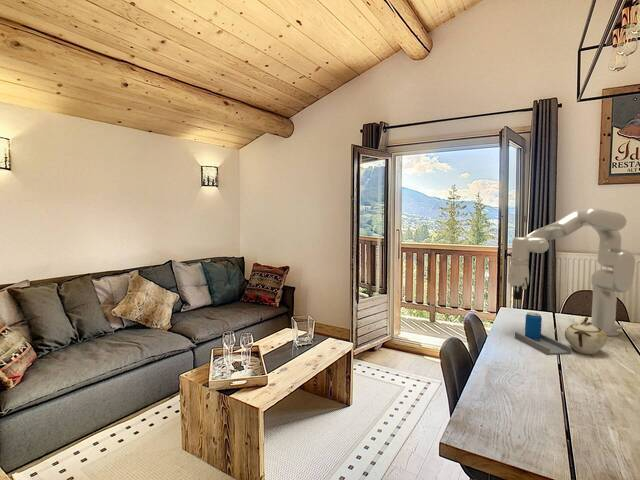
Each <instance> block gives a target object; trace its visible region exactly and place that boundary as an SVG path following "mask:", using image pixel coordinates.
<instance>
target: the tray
mask: <svg viewBox="0 0 640 480" xmlns="http://www.w3.org/2000/svg"><path fill="white" fill-rule="evenodd" d="M514 339H515V340H516V339H517V340H518V341H520V342H522V343H523V344H526V345H527V346H529V347H532V348H533V349H534V350H537V351H539V352H541V353H543V354H544V355H546V356H555V355H557V356H558V355H572V351H573V348H572V346H570V345H568V344H564V343H562V342H561V341H558V340H556V339H554V338H551V337H549V336H547V335H545V334H543V333H541V339H540V340H538V341H534V340H532V339H530V338H528V337H526V336H525V334H524V335H523V334H521V333H520V332H518V331H514Z"/></svg>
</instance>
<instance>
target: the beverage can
mask: <svg viewBox="0 0 640 480" xmlns="http://www.w3.org/2000/svg"><path fill="white" fill-rule="evenodd" d="M542 319H543V317H542V315H541V313H538V312H531V311H529V312H527V313H526V315H525V323H524V324H525V326H524V336H526V337H528V338H530V339H532V340H534V341H538V340H540V339H541V334H542V321H543V320H542Z"/></svg>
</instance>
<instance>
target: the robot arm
mask: <svg viewBox="0 0 640 480" xmlns="http://www.w3.org/2000/svg"><path fill="white" fill-rule="evenodd" d="M626 225H627V218H626V217H625V215H623V214H622V213H620V212H617V211H610V210H605V209H601V208H596V207H595V208H594V207H585V208H584V207H583V208H582V207H580V208H577V209H576V208H575V209H574V210H573V211H572V212H569V213H568V214H566V215H565V216H563V217H562V218H559V219H558V220H556V221H555V222H553V223H550V224H547V225H545V226H543V227H539V228H537V229H536V230H533V231H532V232H530V233H528V234H527V235H525V236H522V237H521V236H516V237H513V238H512V242H511V243H512V244H511V260H510V262H511V263H510V265H509V269H508V275H507V282H508V284H509V285H511V286H512V288H513V299H514V300H517V301H519V300H523V292H524V290H527V288H528V286H529V283H530V268H529V265H530V264H529V263H530V262H529V260H530V253H537V254H542V253H543V254H544V253H546V252H547V251H548V250H549V248H550V242H549V241H552V240H558V239H562V238H563V239H564V238H566V237H568V236H570V235H572V234H573V233H575V232H577V231H578V230H579V229H581V228H583V227H586V226H587V227H588V226H589V227H591V228H592V229H594V230H595V232H596V233H597V235H598V236H599V237H598V239H599V244H598V252H597V262H598V264H599V266H600V265H601V266H602V267H605V268H608V269H604V268H603V269H601V268H600V269H597V270H595V271H594V272H593V273H592V274H591V278H590V281H591V286H592V287H591V288H592V304H591V322H590V323H592V325H593V326H596V327H598V328H600V329H601V330H602V331H603V332H604V333H605V334H606V336H607V337H609V336H610V337H617V336H618V335H619V331H618V330H620V329H624V325H623V324H616V314H617V301H618V300H617V294H616V293H627V292H629V291H630V289H631V288H632V286H633V283H634V276H635V269H636V257H635V255H634V254H633V253H632V252H631V251H630V250H627V249H622V235H621V233H620V230H622V229H624V228H625V227H626ZM609 268H610V269H613V270H610V269H609Z"/></svg>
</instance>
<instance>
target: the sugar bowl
mask: <svg viewBox="0 0 640 480" xmlns="http://www.w3.org/2000/svg"><path fill="white" fill-rule="evenodd" d="M588 320H589V317H588V316H586V317H585V318H584V319H583V321H582V322H578V323H572V324H570V325H569V326H568V327H566V329H565V331H564V337H565V339H566V341H567V343H568V344H569V346H570V347H572V350H574V351H576V352H578V353H581V354H584V355H585V354H586V355H595V354H597V353H598V352H599V351H600V350H601V349H603V347H605V345H606V344H607V342H608V338H607V337H608V336H606V334H605V333H604V332H603V331H602V330H601V329H600V328H598V327H596V326H593V325H592V323H591V322H590V321H589V322H588Z"/></svg>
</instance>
